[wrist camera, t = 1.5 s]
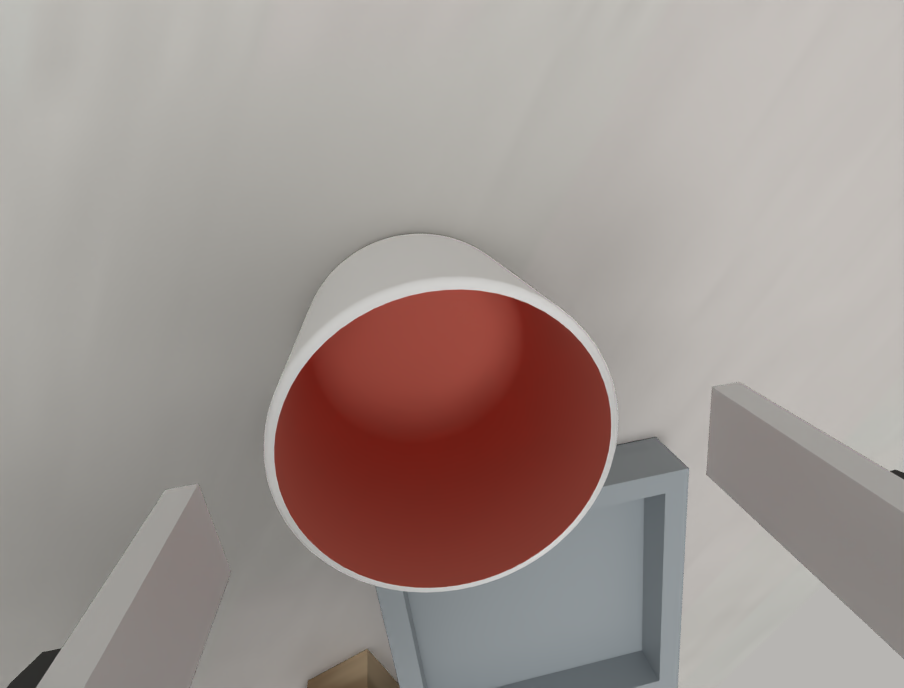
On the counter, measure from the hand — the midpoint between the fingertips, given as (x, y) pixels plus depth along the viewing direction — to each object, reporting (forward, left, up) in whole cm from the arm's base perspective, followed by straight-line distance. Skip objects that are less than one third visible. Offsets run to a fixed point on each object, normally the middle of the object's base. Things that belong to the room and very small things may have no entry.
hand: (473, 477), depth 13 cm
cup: (0, 0, -11) cm, 11 cm away
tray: (+4, -16, -11) cm, 20 cm away
